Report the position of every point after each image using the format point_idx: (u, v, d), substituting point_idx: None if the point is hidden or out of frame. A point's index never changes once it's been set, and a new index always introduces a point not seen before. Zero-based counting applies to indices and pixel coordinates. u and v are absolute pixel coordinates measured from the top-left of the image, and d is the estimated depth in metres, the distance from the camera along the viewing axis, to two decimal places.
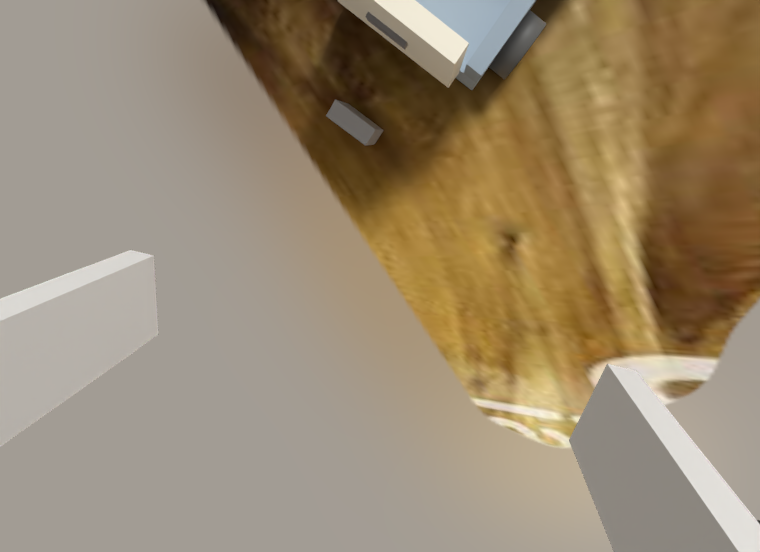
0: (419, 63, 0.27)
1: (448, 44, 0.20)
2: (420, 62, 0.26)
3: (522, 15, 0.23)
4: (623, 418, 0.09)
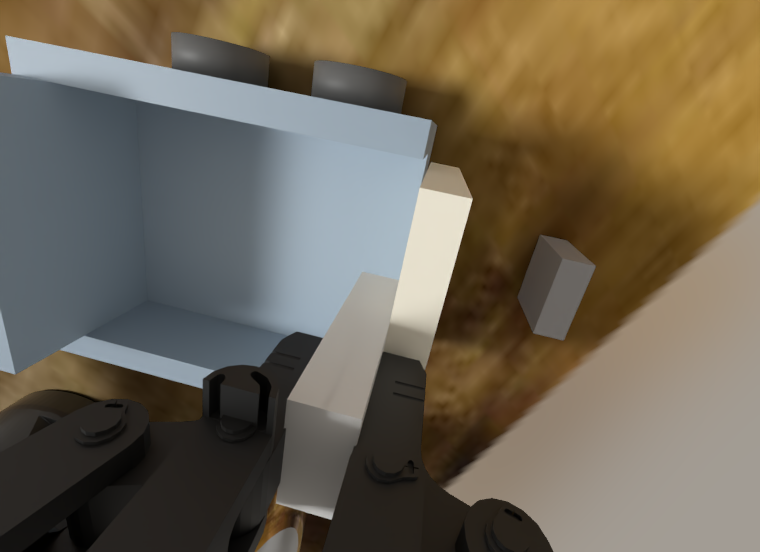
0: None
1: (438, 230, 0.09)
2: None
3: (314, 100, 0.12)
4: None
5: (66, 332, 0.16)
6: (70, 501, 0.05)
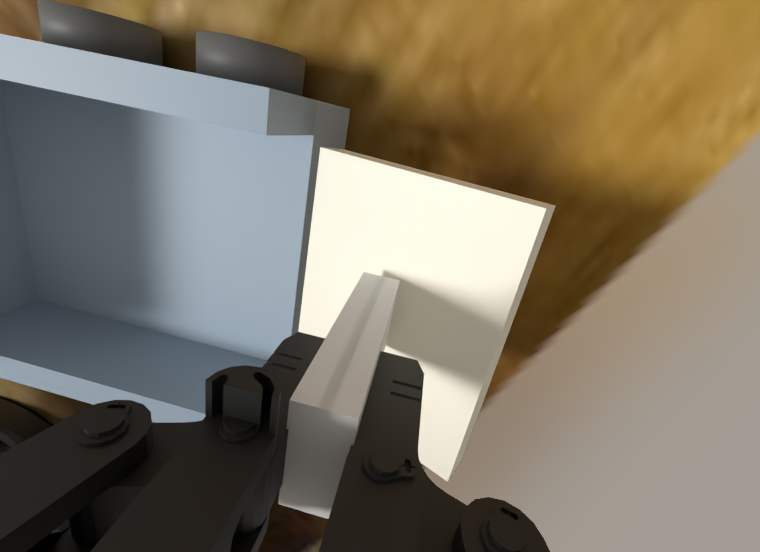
0: None
1: (540, 237, 0.10)
2: None
3: (137, 65, 0.10)
4: None
5: None
6: (73, 502, 0.05)
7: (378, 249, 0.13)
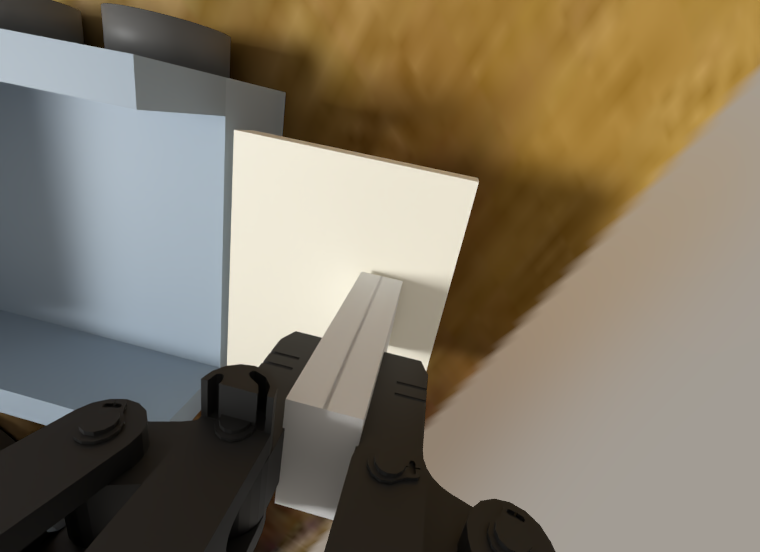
0: None
1: None
2: None
3: None
4: None
5: None
6: (68, 500, 0.05)
7: (318, 234, 0.13)
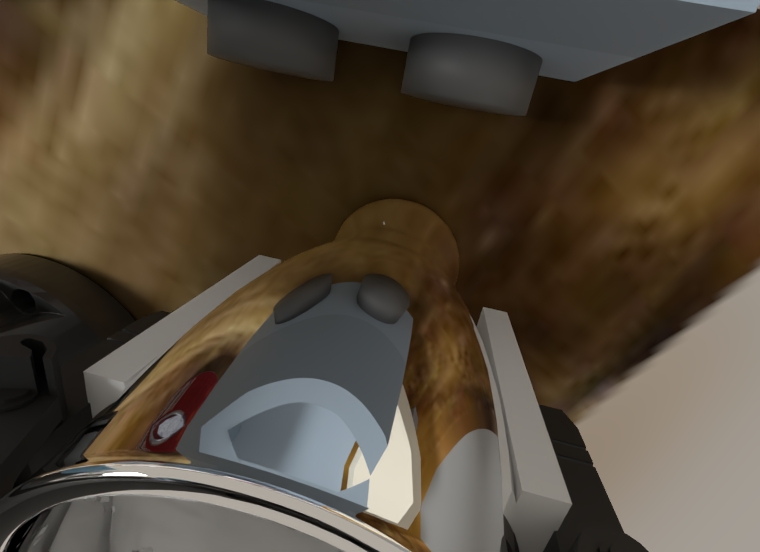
0: None
1: None
2: None
3: None
4: None
5: None
6: None
7: None
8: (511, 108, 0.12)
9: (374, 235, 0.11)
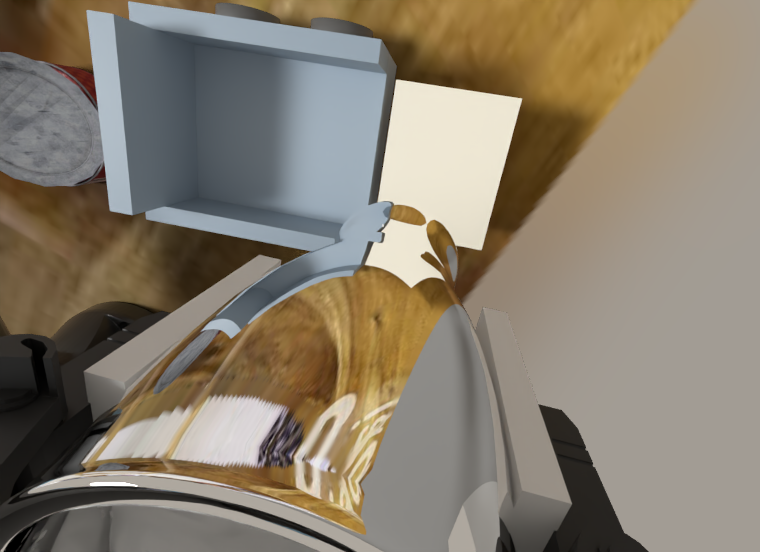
0: None
1: None
2: None
3: (314, 31, 0.21)
4: (482, 345, 0.11)
5: (156, 199, 0.25)
6: None
7: (437, 133, 0.25)
8: None
9: (373, 238, 0.11)
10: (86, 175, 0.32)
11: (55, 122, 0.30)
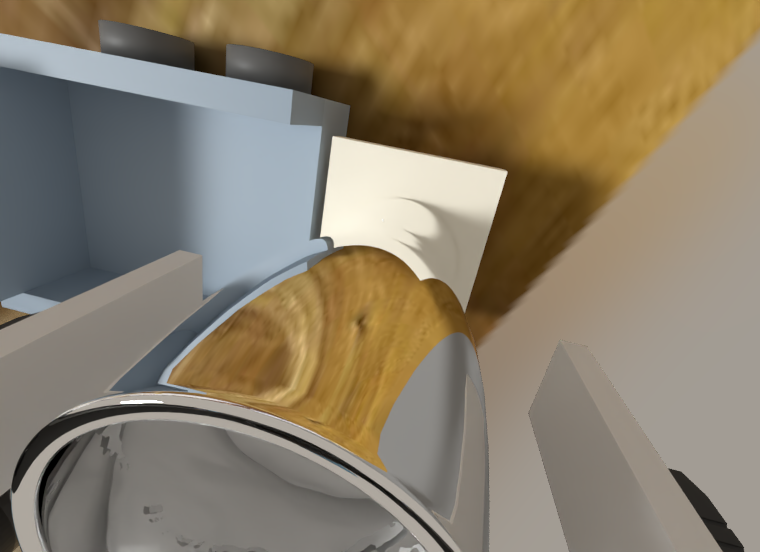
0: None
1: None
2: None
3: (195, 73, 0.14)
4: (568, 386, 0.09)
5: (3, 287, 0.18)
6: None
7: None
8: None
9: (371, 229, 0.12)
10: None
11: None
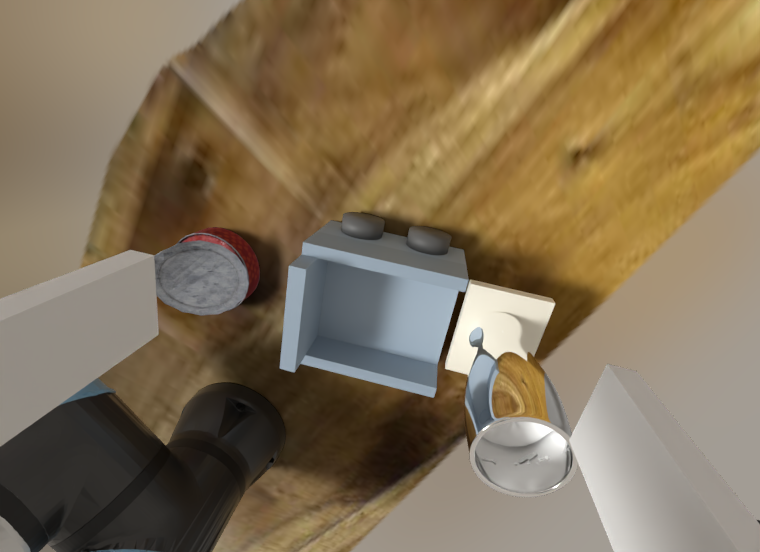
0: None
1: None
2: None
3: (425, 271, 0.33)
4: (623, 418, 0.09)
5: (303, 354, 0.37)
6: None
7: None
8: None
9: (510, 346, 0.30)
10: (229, 307, 0.44)
11: (216, 277, 0.42)
